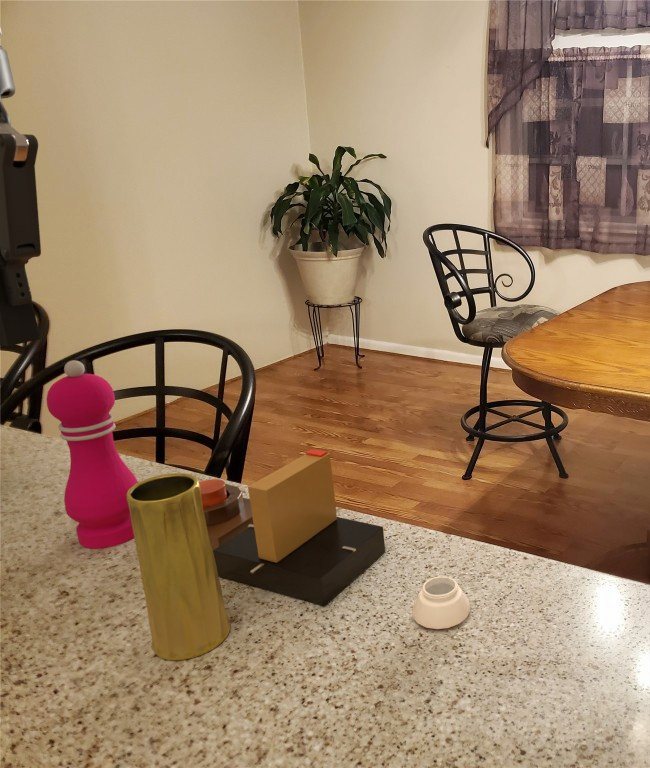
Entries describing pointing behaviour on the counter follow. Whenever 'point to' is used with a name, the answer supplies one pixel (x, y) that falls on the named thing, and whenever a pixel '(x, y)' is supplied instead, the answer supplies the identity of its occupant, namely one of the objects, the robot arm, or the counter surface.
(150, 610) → the vase
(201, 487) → the button
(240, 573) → the black square base
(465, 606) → the white jar
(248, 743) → the counter surface
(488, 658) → the counter surface
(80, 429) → the pepper mill
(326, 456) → the yellow block
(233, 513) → the drain block
